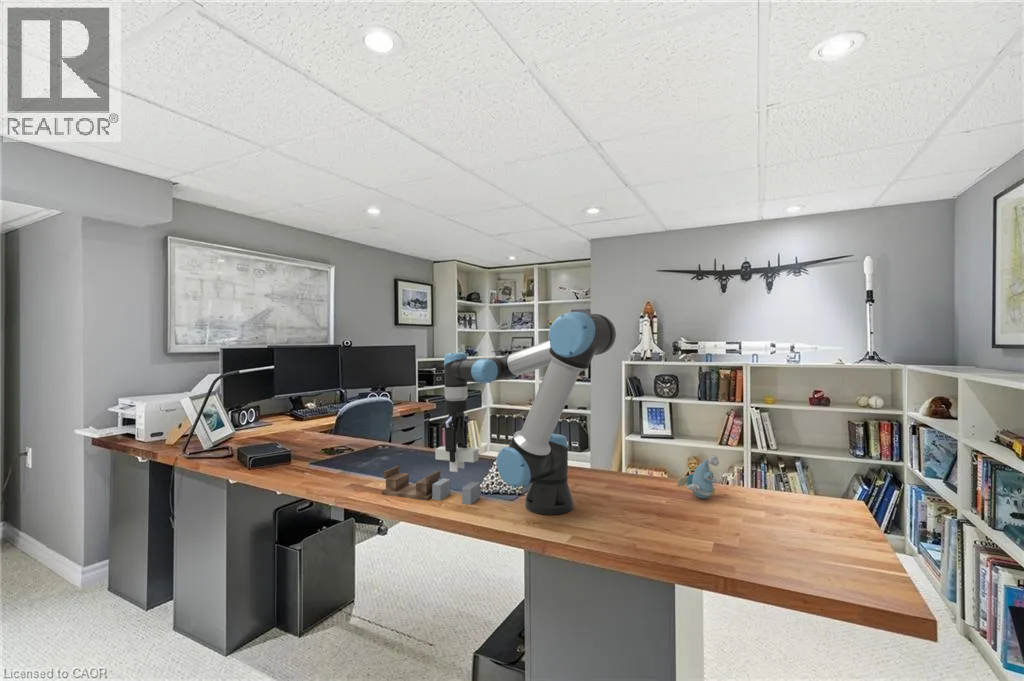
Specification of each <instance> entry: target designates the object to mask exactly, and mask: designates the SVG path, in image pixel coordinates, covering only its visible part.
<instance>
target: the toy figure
mask: <svg viewBox="0 0 1024 681" xmlns="http://www.w3.org/2000/svg"><path fill="white" fill-rule="evenodd" d="M709 464H710V465H712V466H714V467H718V466H719V464H720V461H719V458H718V457H717V456H716V455H711V456H710V458H707V459H705V460H704V461H703V462H700V463H699V464H698V465H697V466H696V469H695V470H694V472H693V474H692V473H691V474H687V475H686V476H681V477H680V478H678V479H677V481H676V482H677V486H678V487H683V486H685V487H686V488H687V490H691V492H692V493H693V495H694V496H696V497H697V498H699V499H708V498H710V497H712V496H713V497H714V495H715V487H716V486H717V485H716V484H717V483H718V479H717V478H716V477H714V474H715V473H714V472H713V471H710V467H709ZM714 486H715V487H714Z"/></svg>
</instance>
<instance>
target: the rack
mask: <svg viewBox="0 0 1024 681" xmlns="http://www.w3.org/2000/svg"><path fill="white" fill-rule="evenodd" d="M440 478H441V470H436V471H435V472H433V473H431V474H429V475H427V476H426V477H424V478H423V479H419V481H416V482H415V484H411V483H410V474H409V473H407V472H400V465H396V466H394V467H391V468H389V469H387V470H384V471H383V479H384V480H385V489H383V490H381V494H382V495H387V496H395V497H400V498H402V497H403V498H407V499H415V500H421V501H422V500H423V501H429V500H430V499H432V484H434V483H435V482H437V481H439V480H440Z"/></svg>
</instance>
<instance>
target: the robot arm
mask: <svg viewBox="0 0 1024 681" xmlns="http://www.w3.org/2000/svg"><path fill="white" fill-rule="evenodd" d="M616 337H617V332H616V327H615V325H614V323H613V322H612V321H611V320H610V319H609V318H608V317H607V316H605V315H603V314H599V313H588V312H587V313H586V312H582V311H572V312H567V313H562V314H561V315H559V316H558V317H557V318H556V319H554V320H553V322H552V324H551V325H550V327H549V332H548V340H547V341H543V342H540V343H538V344H535V345H532V346H530V347H527V348H524V349H520V350H519V351H516V352H513V353H510V354H508V355H506V356H501V357H493V358H491V357H490V358H468V355H467V353H466V352H450V353H448V352H447V353H446V354H445V355H444V361H443V362H444V363H443V369H444V371H443V372H444V377H443V378H444V390H443V391H444V398H445V400H444V411H445V412H447V413H448V416H447V420H444V421H443V426H444V441H445V442H444V447H445V450H446V452H449V458H450V461H449V472H452V473H458V472H459V469H465V466H466V465H465V464H466V462H461V461H458V452H456V449H457V448H468V443H469V442H468V434H469V433H468V431H469V430H468V426H469V424H468V422H469V415H465V412H467V411H468V410H469V408H468V402H469V401H468V400H467V398H468V395H469V394H468V383H479V384H487V383H492V382H495V381H508V380H512V379H515V378H517V377H518V376H520V375H523V374H527V373H529V372H532V371H535V370H539V369H542V368H544V367H547V369H546V372H545V374H544V376H543V379H542V381H541V383H540V386H539V388H538V391H537V392H536V394H535V397H534V399H533V403H532V404H531V407H530V409H529V412H528V414H527V416H526V418H525V421H524V423H523V426H522V428H521V430H520V429H519V430H518V431H515V432H514V434H513V436H512V438H511V441H510V443H509V445H508V446H506V447H503V448H502V449H500V451H499V452H498V453H497V456H496V459H495V460H496V464H495V465H496V468H497V471H498V474H499V476H500V478H501V479H502V480H503V481H504V483H505V484H506V485H508V486H510V487H512V488H520V487H525V486H529V487H528V490H527V492H526V496H525V498H524V500H525V504H524V505H525V508H526V509H527V510H528V511H530V512H532V513H535V514H538V515H539V514H540V515H550V516H555V515H562V514H563V515H564V514H566V513H569V512H571V511H572V510H573V509H574V498H573V495H572V492H571V489H570V487H569V486H570V484H569V483H568V480H569V478H568V477H569V476H568V475H569V474H568V473H569V472H568V464H569V462H568V461H569V460H568V458H569V457H568V456H569V453H568V452H569V446H568V439H567V437H566V436H565V435H562V434H558V433H554V431H555V429H556V426H557V425H558V422H559V420H560V418H561V415H562V413H563V411H564V408H565V406H566V404H567V402H568V399H570V398H569V397H570V395H571V393H572V391H573V390H574V387H575V384H576V382H577V380H578V379H579V378H578V377H579V376H580V373H581V372H584V371H586V370H588V369H589V367H590V364H591V363H592V361H593V358H594V356H598V355H602V354H604V353H607V352H609V350H611V348H612V347H613V345H614V344H615V342H616Z"/></svg>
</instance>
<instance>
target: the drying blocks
mask: <svg viewBox="0 0 1024 681" xmlns="http://www.w3.org/2000/svg"><path fill="white" fill-rule="evenodd" d="M480 485H481V484H480V482H478V481H477V482H475V481H471V482H469V483H467V484H466V485H464V486H463V487H462V488H461V504H464V505H469V506H470V505H472V504H473V503H475V502H476V501H478V500H479V499H480V497H481V496H480V495H481V494H480V492H481V490H480V489H481V486H480ZM449 495H451V479H450V478H441V479H438V481H437V482H435V483H434V484H432V498H431V499H432V500H435V501H442V500H443V499H445V498H447V497H448V496H449Z"/></svg>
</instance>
